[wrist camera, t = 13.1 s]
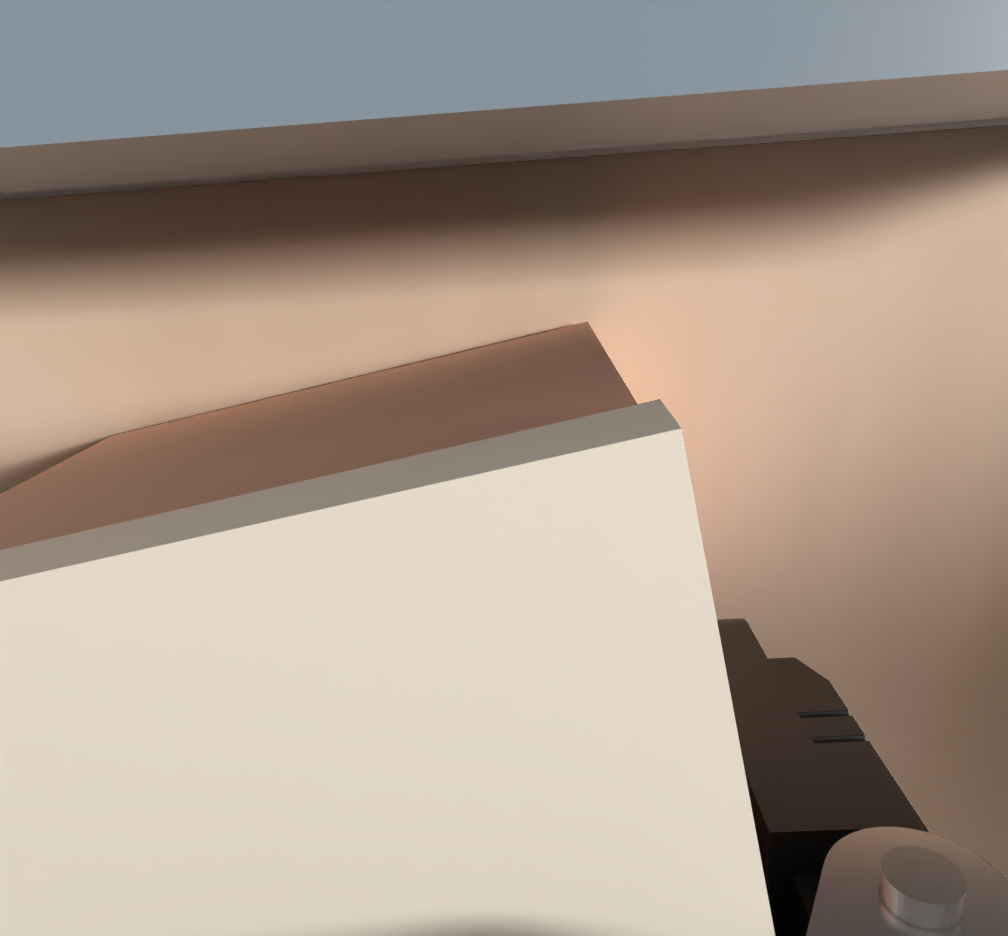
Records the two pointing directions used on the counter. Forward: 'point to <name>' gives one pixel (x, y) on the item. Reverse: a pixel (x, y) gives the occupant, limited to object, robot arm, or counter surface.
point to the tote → (465, 82)
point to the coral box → (375, 669)
